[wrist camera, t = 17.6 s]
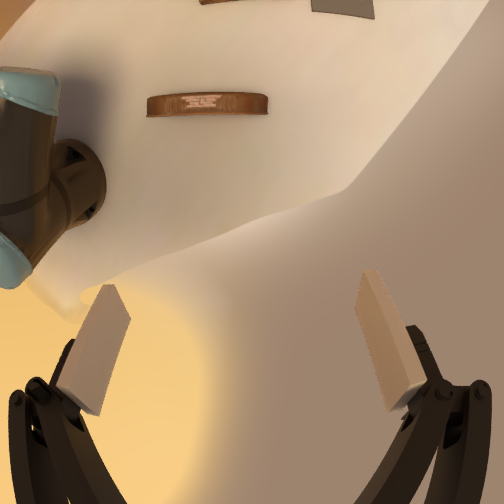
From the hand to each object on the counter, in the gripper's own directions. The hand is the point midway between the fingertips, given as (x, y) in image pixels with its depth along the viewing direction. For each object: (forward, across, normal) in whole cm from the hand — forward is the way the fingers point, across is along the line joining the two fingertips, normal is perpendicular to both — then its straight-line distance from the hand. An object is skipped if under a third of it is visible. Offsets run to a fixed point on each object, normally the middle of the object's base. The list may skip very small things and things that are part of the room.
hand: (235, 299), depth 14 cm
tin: (+29, -4, +8) cm, 30 cm away
